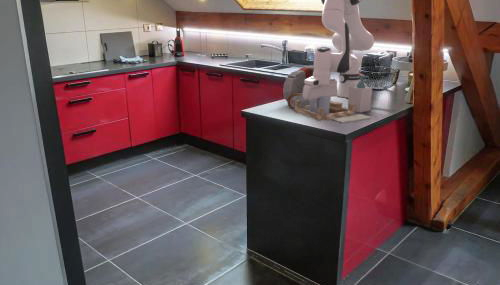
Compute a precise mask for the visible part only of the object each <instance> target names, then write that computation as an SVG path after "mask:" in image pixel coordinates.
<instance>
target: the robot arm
mask: <svg viewBox="0 0 500 285" xmlns="http://www.w3.org/2000/svg"><path fill="white" fill-rule="evenodd" d="M361 1H362V0H321V4H322V5H323V7H322V14H321V23H322V25H323V27H325V28H326V29H327V30H329V31H330V32H333V35H332V37H331V38H332V39H331V42H332V45H333V47H334V48H335V49H336V50H337V51H338V52H332V49H331V48H330V47H327V46H319V47H317V48H316V49H315V53H314V57H313V64H312V65H313V66H314V72H313V76H311V77H309V78H307V79H305V80H304V83H305V85H304V88H303V98H304V99H306V100H312V99H313V102H314V107H318V104H317V102H316V101H317V99H320V96H327V97H331V98H335V97H340V98H346V99H347V98H349V87H350V86H355V85H357V84H358V83H359V81H360V76H359V75H363V76H365V75H364V73H360V66H361V60H360V59H359V58H358V57H357V56H356V55H355V54H354V51H358V52H359V51H360V52H364V51H370V50H371V49H372V47H374V43H375V40H374V39H375V38H374V36H373V34H372V33H370V32H369V31H368V30H367V29H366V28H365V26H364V25H363V23H362V21H361V17H360V8H359V3H360V2H361ZM331 72H332V73H339V75H338V76H339V78H338V79H339V81H337V79H335V78H331ZM364 84H365V86H368V85H367V84H366V83H365V82H364Z"/></svg>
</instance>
